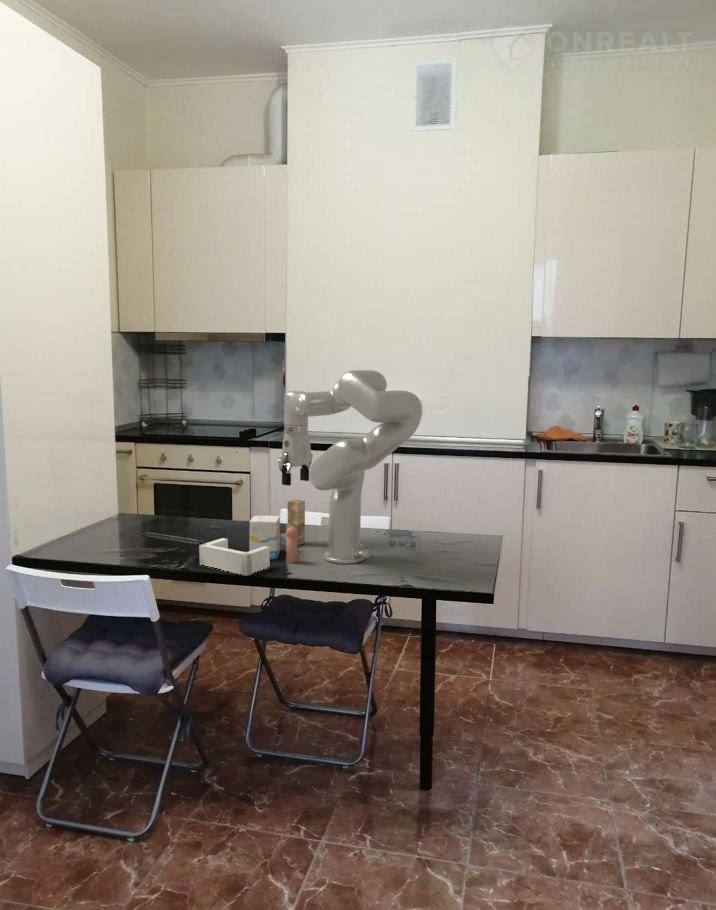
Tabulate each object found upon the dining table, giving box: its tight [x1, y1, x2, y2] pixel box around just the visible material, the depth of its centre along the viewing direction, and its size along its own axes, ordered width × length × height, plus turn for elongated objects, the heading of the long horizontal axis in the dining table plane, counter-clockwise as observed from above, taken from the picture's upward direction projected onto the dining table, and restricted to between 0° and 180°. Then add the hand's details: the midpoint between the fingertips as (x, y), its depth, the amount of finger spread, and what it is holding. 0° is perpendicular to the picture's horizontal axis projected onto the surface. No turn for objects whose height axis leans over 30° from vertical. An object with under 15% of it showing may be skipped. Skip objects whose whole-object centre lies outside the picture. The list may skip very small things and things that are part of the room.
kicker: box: [280, 498, 306, 551], centre depth 232 cm, size 10×11×14 cm
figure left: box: [285, 527, 298, 564], centre depth 215 cm, size 4×4×11 cm
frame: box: [198, 537, 271, 577], centre depth 210 cm, size 18×10×6 cm, turn 58°
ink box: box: [248, 514, 281, 560], centre depth 222 cm, size 9×8×12 cm
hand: (295, 482), depth 233 cm, fingers open, 9 cm apart
